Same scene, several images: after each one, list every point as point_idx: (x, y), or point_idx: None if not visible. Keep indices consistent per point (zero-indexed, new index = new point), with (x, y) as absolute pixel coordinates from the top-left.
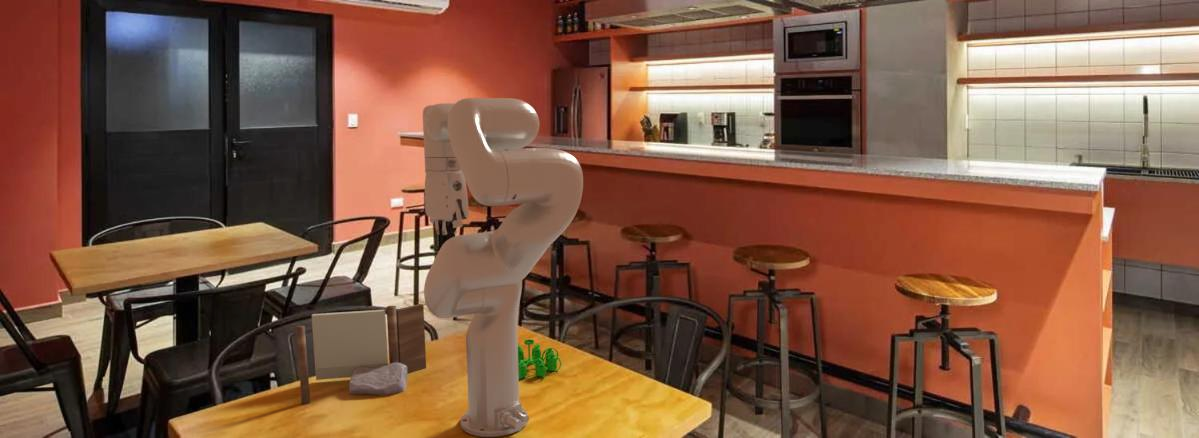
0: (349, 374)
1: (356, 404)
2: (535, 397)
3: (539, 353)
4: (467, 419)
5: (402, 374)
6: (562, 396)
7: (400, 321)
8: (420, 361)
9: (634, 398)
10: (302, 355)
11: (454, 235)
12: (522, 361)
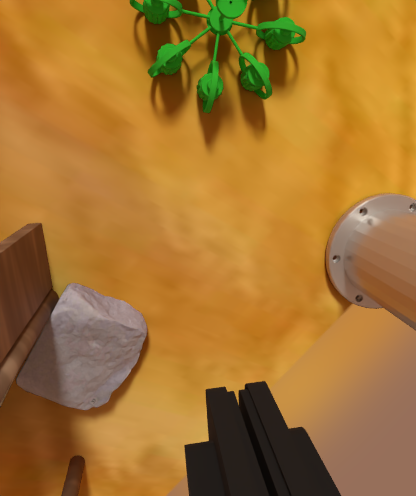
0: (10, 386)
1: (144, 399)
2: (353, 127)
3: None
4: (359, 293)
5: (124, 322)
6: (390, 80)
7: (7, 343)
8: (38, 242)
9: None
10: None
11: (315, 490)
12: (265, 72)
